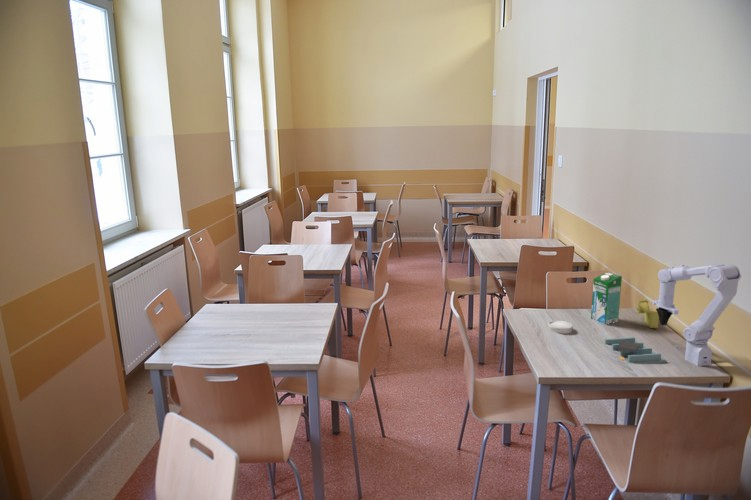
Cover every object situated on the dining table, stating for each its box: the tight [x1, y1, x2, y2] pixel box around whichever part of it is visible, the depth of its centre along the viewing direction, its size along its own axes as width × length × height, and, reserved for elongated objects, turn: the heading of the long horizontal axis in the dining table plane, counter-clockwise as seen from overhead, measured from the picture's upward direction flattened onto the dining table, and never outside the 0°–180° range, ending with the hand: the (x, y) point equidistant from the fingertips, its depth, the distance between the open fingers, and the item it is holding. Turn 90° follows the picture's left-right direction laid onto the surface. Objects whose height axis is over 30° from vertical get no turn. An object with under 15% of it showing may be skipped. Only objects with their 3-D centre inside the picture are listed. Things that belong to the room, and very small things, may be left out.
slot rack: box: [604, 337, 667, 364], centre depth 226 cm, size 21×18×3 cm
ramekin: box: [547, 320, 574, 334], centre depth 249 cm, size 11×11×5 cm
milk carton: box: [590, 272, 623, 325], centre depth 261 cm, size 9×9×25 cm
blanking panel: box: [617, 340, 640, 354], centre depth 223 cm, size 2×8×7 cm
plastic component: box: [636, 299, 660, 329], centre depth 262 cm, size 20×7×10 cm, turn 167°
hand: (663, 324), depth 232 cm, fingers closed
